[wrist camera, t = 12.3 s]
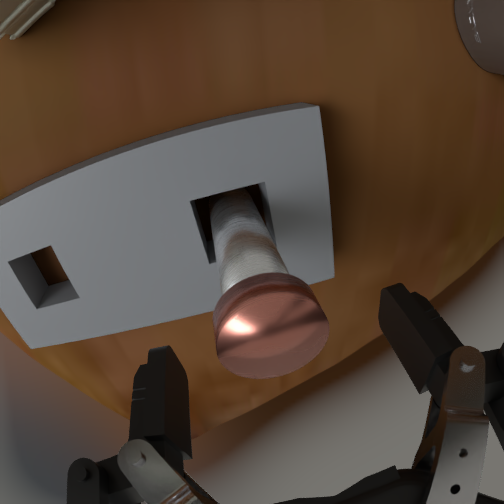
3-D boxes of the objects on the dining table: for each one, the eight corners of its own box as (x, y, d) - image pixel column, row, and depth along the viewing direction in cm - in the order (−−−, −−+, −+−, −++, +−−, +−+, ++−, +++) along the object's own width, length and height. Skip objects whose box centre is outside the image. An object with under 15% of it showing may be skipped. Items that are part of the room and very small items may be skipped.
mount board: (301, 102, 18) (319, 106, 15) (319, 255, 24) (334, 277, 22) (-24, 214, 17) (-43, 231, 14) (40, 326, 23) (31, 348, 20)
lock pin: (253, 171, 20) (327, 285, 9) (264, 224, 22) (329, 360, 11) (194, 186, 20) (201, 319, 9) (209, 238, 22) (232, 388, 11)
